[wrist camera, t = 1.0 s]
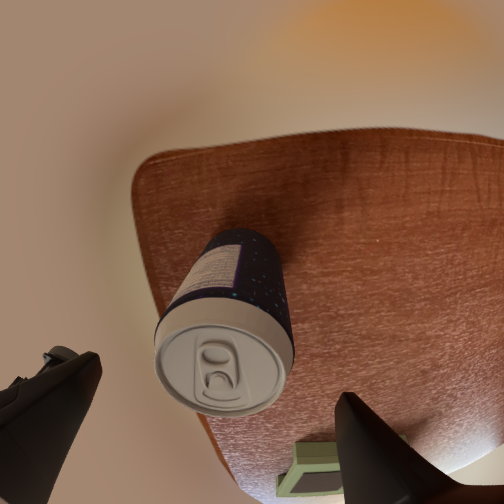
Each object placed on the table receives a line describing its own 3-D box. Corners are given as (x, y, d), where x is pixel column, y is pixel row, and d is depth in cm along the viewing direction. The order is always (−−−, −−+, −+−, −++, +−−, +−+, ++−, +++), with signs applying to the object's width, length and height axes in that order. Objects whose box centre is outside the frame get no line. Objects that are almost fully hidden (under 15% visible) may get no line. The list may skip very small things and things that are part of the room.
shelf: (275, 479, 31) (276, 505, 26) (295, 441, 28) (297, 475, 23) (370, 473, 31) (376, 496, 27) (405, 433, 28) (415, 460, 23)
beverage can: (206, 297, 22) (161, 416, 10) (200, 226, 20) (127, 307, 9) (279, 297, 21) (292, 423, 10) (280, 224, 20) (303, 311, 8)
